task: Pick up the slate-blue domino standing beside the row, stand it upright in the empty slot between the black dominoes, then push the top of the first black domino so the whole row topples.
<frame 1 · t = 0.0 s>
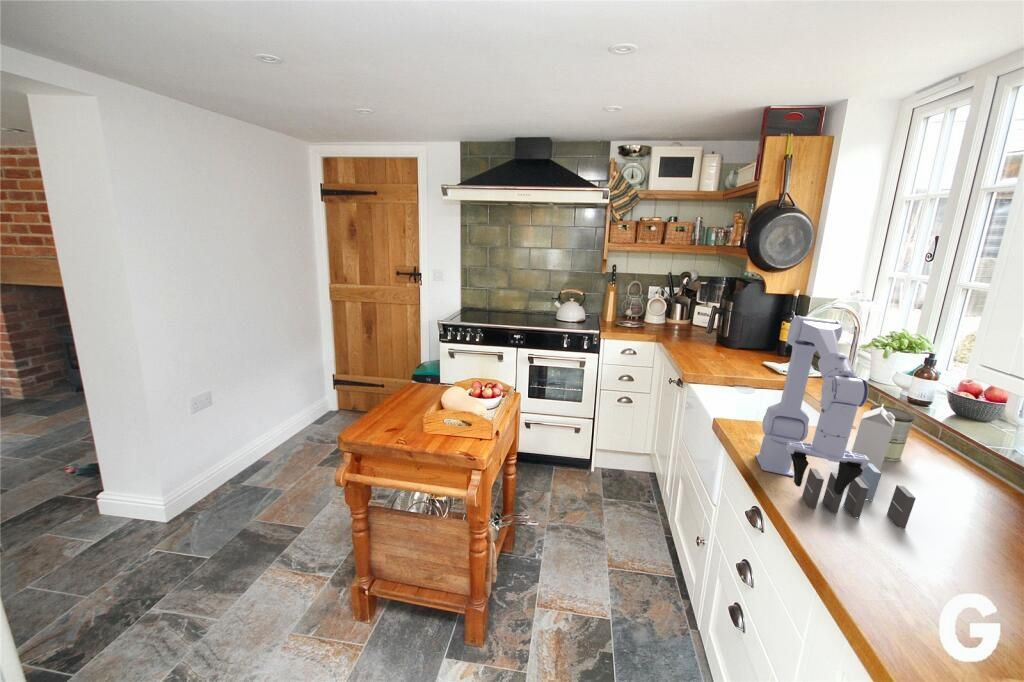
hand: (816, 488, 96), 10 cm above the worktop, tool pointing down, fingers open, 7 cm apart
tile 2: (829, 506, 107), on the worktop
tile 1: (808, 502, 109), on the worktop
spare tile: (864, 495, 114), on the worktop
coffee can: (879, 453, 138), on the worktop
milk carton: (863, 467, 128), on the worktop
tile 3: (851, 511, 106), on the worktop
tile 5: (895, 521, 104), on the worktop
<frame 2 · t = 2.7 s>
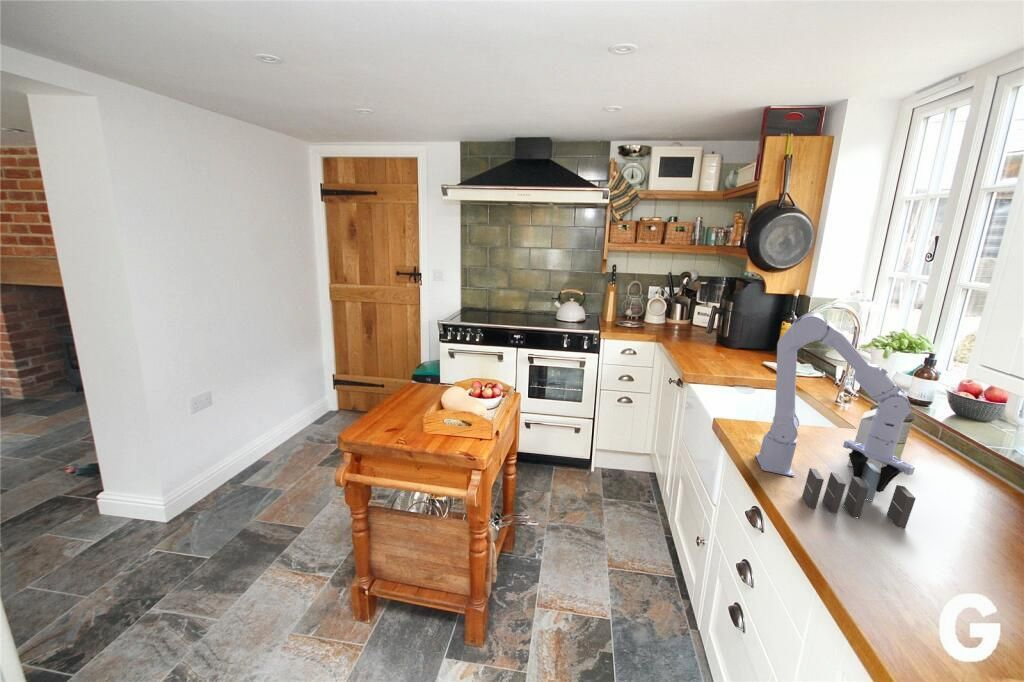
hand: (867, 485, 113), 3 cm above the worktop, tool pointing down, fingers closed on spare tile, 5 cm apart
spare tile: (864, 495, 114), on the worktop, touching gripper
everything else where it was.
when the fingers open (4 cm above the worktop, at t = 6.7 s): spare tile stays where it is, on the worktop.
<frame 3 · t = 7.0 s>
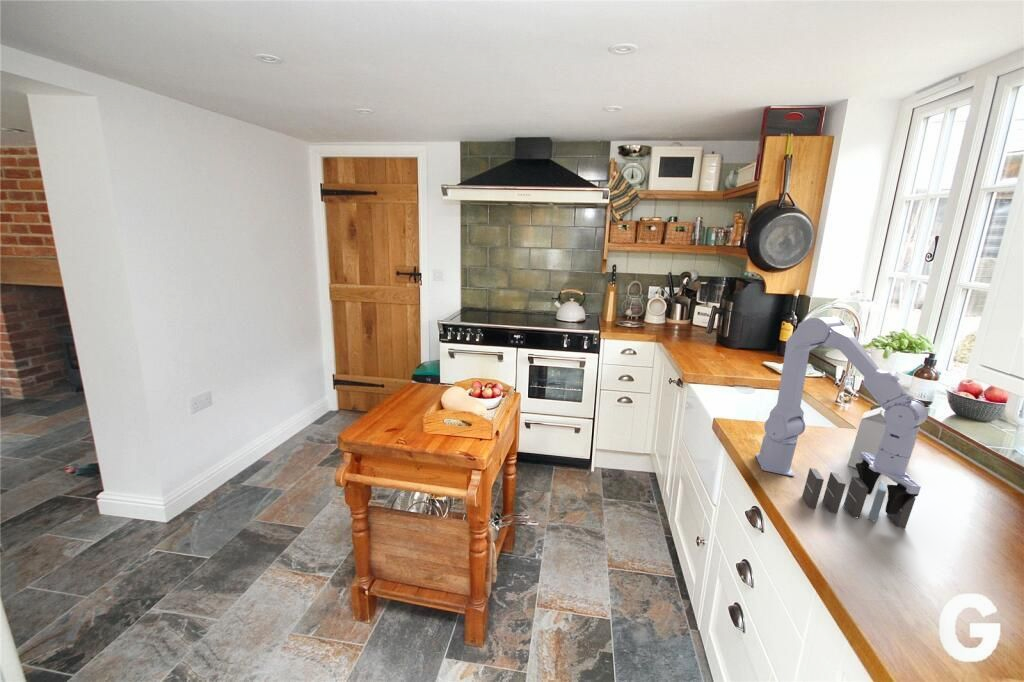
hand: (877, 503, 104), 4 cm above the worktop, tool pointing down, fingers open, 7 cm apart
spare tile: (873, 516, 105), on the worktop
everything else where it was.
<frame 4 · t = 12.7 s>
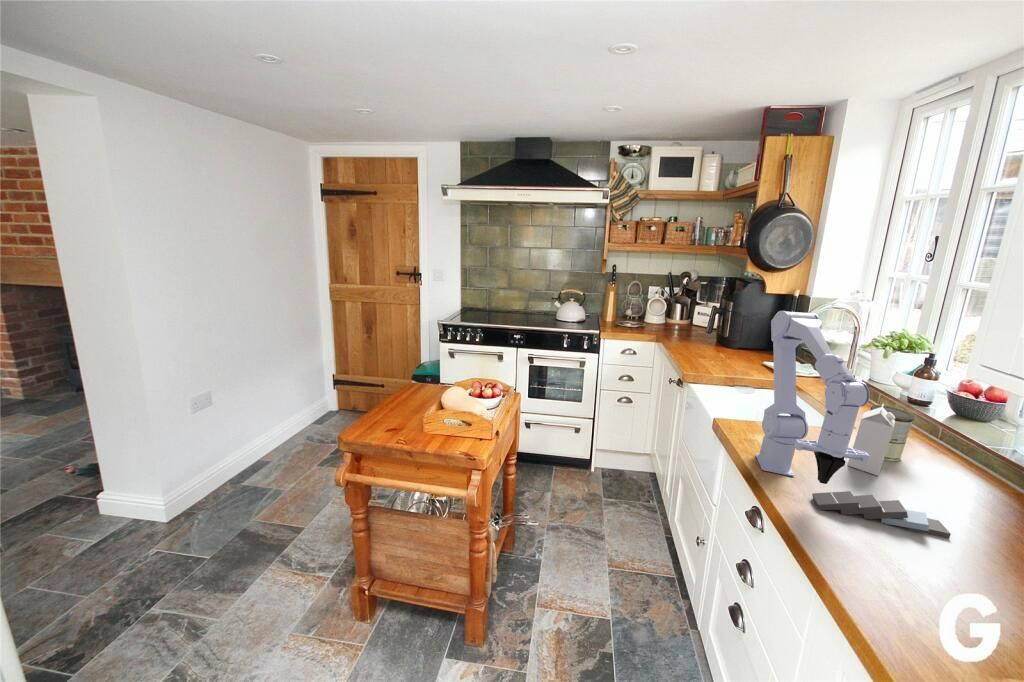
hand: (822, 481, 107), 6 cm above the worktop, tool pointing down, fingers closed
tile 2: (837, 506, 107), point 1 cm above the worktop, tilted 68°, touching tile 1, tile 3
tile 1: (815, 501, 108), point 1 cm above the worktop, tilted 70°, touching tile 2
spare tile: (880, 514, 104), point 1 cm above the worktop, tilted 76°, touching tile 3, tile 5
tile 3: (860, 510, 105), point 1 cm above the worktop, tilted 68°, touching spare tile, tile 2
tile 5: (901, 520, 103), on the worktop, tilted 89°, touching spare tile
everything else where it was.
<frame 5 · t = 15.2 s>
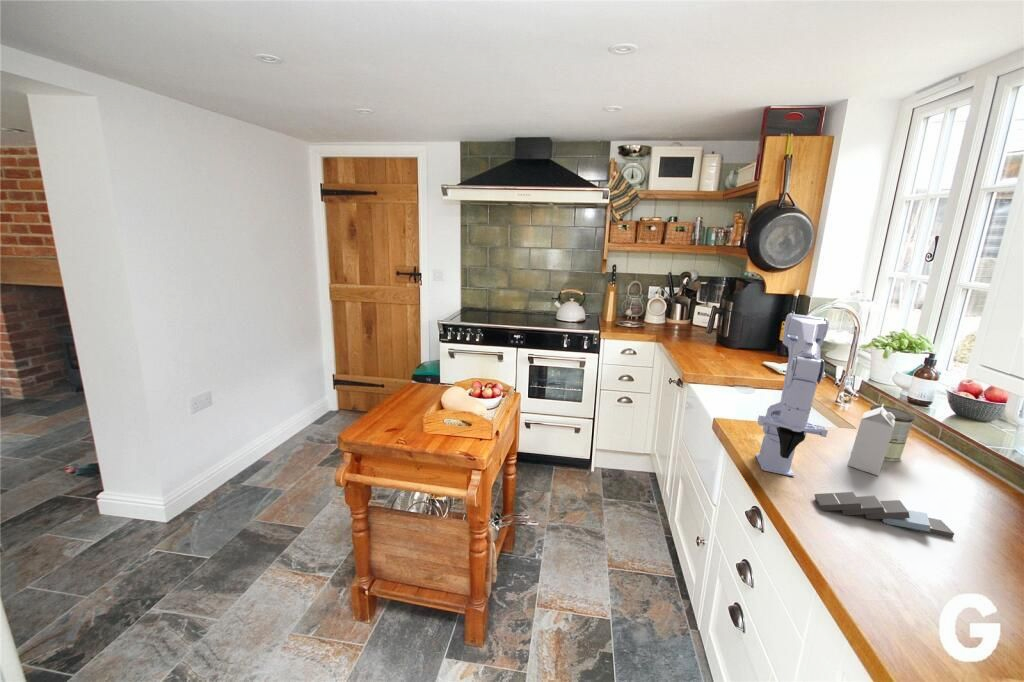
hand: (783, 456, 110), 10 cm above the worktop, tool pointing down, fingers closed
at the end: tile 5 tilted 89°; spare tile tilted 77°; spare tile inside the target area (0.4 cm from its centre), point 0.9 cm above the worktop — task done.
